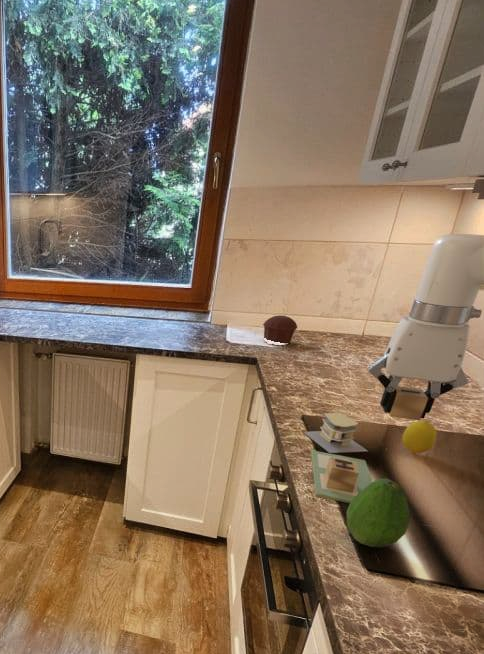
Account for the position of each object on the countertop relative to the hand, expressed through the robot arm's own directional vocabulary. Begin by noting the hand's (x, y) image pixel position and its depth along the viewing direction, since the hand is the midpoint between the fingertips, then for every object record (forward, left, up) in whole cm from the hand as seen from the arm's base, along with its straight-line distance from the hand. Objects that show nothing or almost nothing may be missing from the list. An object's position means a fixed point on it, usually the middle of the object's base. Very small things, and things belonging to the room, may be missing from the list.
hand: (402, 411), depth 86 cm
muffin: (+19, -96, -16) cm, 99 cm away
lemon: (-9, -17, -16) cm, 25 cm away
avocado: (+4, +21, -16) cm, 26 cm away
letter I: (0, 0, 0) cm, 0 cm away
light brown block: (+7, +5, -15) cm, 17 cm away
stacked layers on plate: (+6, -16, -16) cm, 23 cm away
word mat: (+6, +1, -16) cm, 17 cm away
